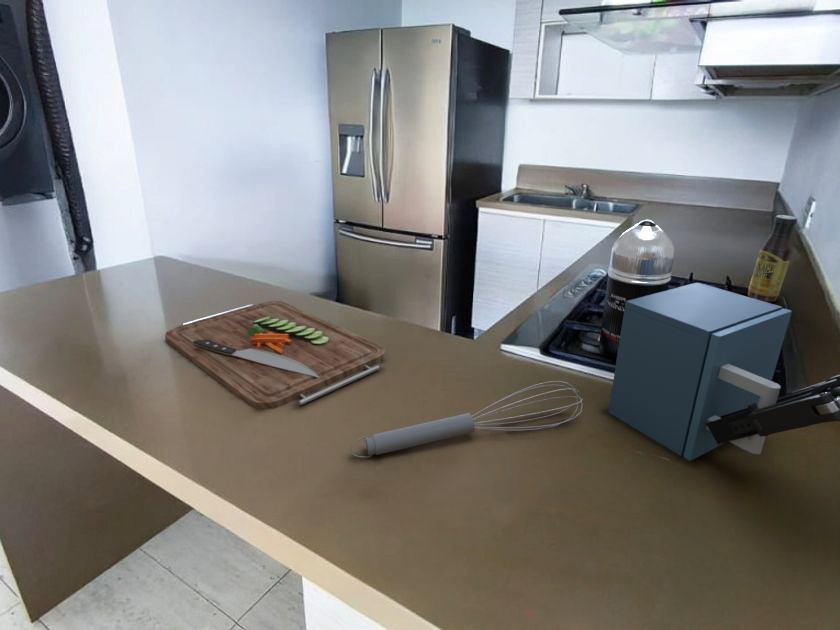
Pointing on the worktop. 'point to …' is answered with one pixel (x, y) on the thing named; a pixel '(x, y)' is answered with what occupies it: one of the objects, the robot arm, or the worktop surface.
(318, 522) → the worktop surface
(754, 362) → the cupboard door
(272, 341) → the chopping board
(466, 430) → the kitchen whisk
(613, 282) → the black domed canister
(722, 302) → the cupboard
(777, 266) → the sauce bottle
